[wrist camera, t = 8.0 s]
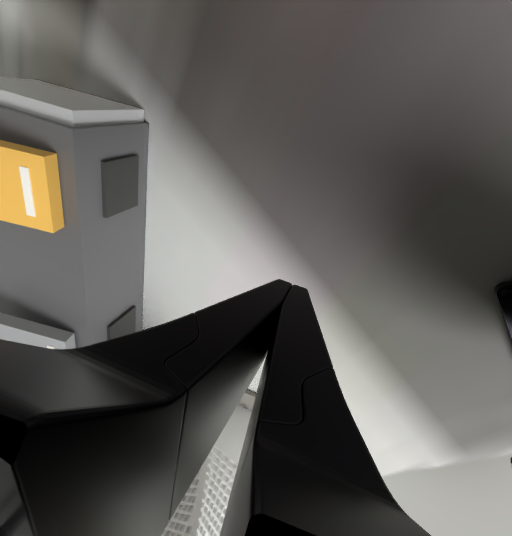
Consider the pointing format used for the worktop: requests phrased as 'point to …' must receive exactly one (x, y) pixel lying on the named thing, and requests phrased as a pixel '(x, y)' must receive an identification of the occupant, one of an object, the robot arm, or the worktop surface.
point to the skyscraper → (213, 479)
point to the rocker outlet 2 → (34, 333)
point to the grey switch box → (78, 213)
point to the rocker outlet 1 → (30, 187)
